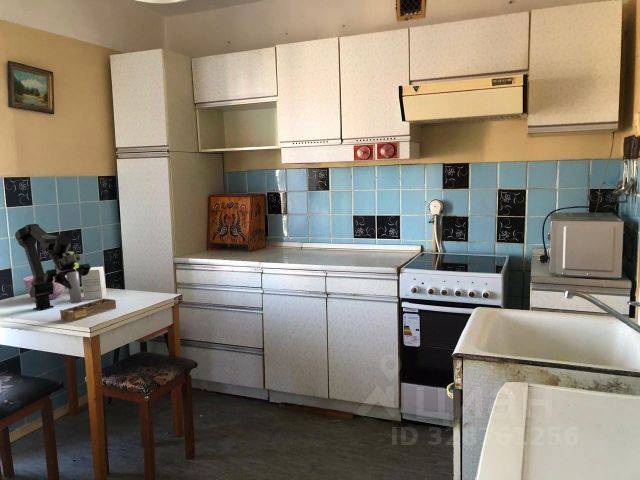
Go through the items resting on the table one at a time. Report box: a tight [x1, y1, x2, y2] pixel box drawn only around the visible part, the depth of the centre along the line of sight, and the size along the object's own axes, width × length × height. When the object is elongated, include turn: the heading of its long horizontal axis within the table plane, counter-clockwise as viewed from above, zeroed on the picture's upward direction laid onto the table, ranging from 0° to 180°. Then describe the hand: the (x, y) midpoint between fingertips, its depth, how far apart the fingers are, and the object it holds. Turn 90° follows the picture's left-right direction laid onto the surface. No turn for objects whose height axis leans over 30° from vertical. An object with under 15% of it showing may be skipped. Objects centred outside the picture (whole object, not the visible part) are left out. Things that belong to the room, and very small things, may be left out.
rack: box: [59, 298, 117, 322], centre depth 229 cm, size 8×22×4 cm, turn 151°
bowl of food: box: [22, 275, 68, 301], centre depth 265 cm, size 20×20×12 cm
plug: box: [67, 271, 83, 304], centre depth 223 cm, size 4×4×13 cm
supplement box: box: [82, 266, 107, 301], centre depth 261 cm, size 9×9×15 cm
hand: (76, 287), depth 222 cm, fingers closed on plug, 4 cm apart
